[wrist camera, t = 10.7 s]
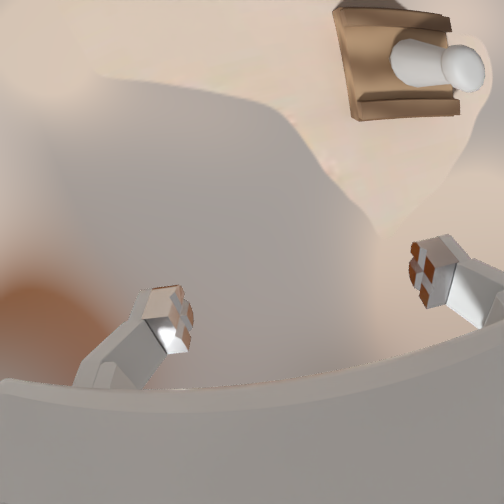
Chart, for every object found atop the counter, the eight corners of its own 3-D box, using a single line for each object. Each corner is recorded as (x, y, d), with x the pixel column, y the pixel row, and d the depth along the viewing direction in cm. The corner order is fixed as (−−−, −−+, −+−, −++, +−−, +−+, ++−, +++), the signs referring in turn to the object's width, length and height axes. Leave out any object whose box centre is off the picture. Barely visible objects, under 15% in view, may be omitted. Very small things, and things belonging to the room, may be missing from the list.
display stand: (332, 11, 26) (342, 4, 22) (429, 16, 24) (448, 13, 20) (351, 117, 33) (363, 124, 30) (441, 111, 32) (460, 118, 28)
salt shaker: (425, 46, 25) (497, 50, 14) (422, 89, 28) (492, 109, 17) (383, 34, 25) (448, 27, 14) (381, 79, 28) (444, 92, 17)
